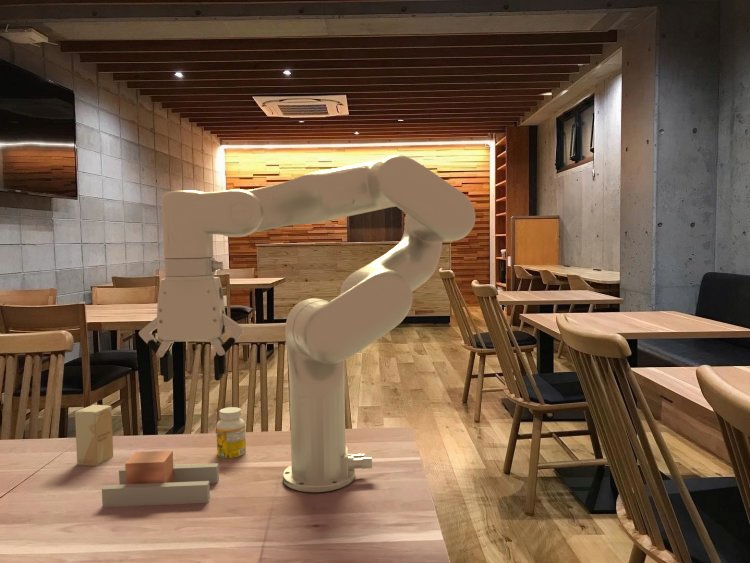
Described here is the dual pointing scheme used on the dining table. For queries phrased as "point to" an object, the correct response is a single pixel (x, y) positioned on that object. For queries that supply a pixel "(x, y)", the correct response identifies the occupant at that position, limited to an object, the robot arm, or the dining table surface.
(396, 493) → the dining table surface
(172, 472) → the block
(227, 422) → the supplement bottle
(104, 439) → the box
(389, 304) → the robot arm
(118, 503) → the chute
